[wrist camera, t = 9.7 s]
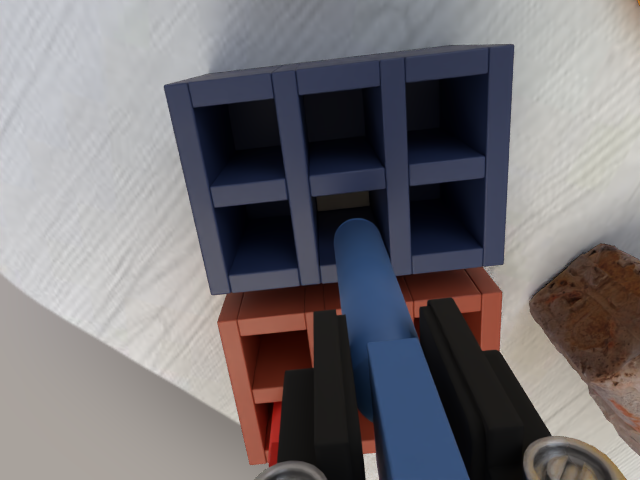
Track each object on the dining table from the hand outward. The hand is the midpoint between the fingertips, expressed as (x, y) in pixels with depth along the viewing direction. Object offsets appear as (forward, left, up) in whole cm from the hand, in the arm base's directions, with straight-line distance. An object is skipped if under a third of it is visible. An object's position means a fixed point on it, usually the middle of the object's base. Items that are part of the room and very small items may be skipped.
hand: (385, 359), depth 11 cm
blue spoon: (0, 0, -8) cm, 8 cm away
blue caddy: (0, +2, -16) cm, 17 cm away
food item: (+17, -13, -17) cm, 27 cm away
